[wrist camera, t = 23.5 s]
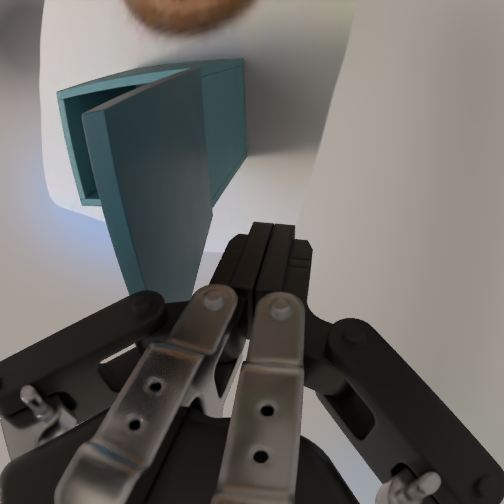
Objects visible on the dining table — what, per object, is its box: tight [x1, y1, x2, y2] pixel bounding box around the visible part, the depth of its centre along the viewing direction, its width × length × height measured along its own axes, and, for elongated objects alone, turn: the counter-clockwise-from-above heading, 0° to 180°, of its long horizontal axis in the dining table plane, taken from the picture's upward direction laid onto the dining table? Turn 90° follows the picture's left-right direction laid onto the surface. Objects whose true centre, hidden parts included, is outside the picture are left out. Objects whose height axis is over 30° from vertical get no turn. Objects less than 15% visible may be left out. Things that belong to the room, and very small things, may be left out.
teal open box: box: [57, 58, 247, 208], centre depth 29 cm, size 14×12×13 cm
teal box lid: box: [82, 68, 213, 303], centre depth 17 cm, size 14×12×1 cm
